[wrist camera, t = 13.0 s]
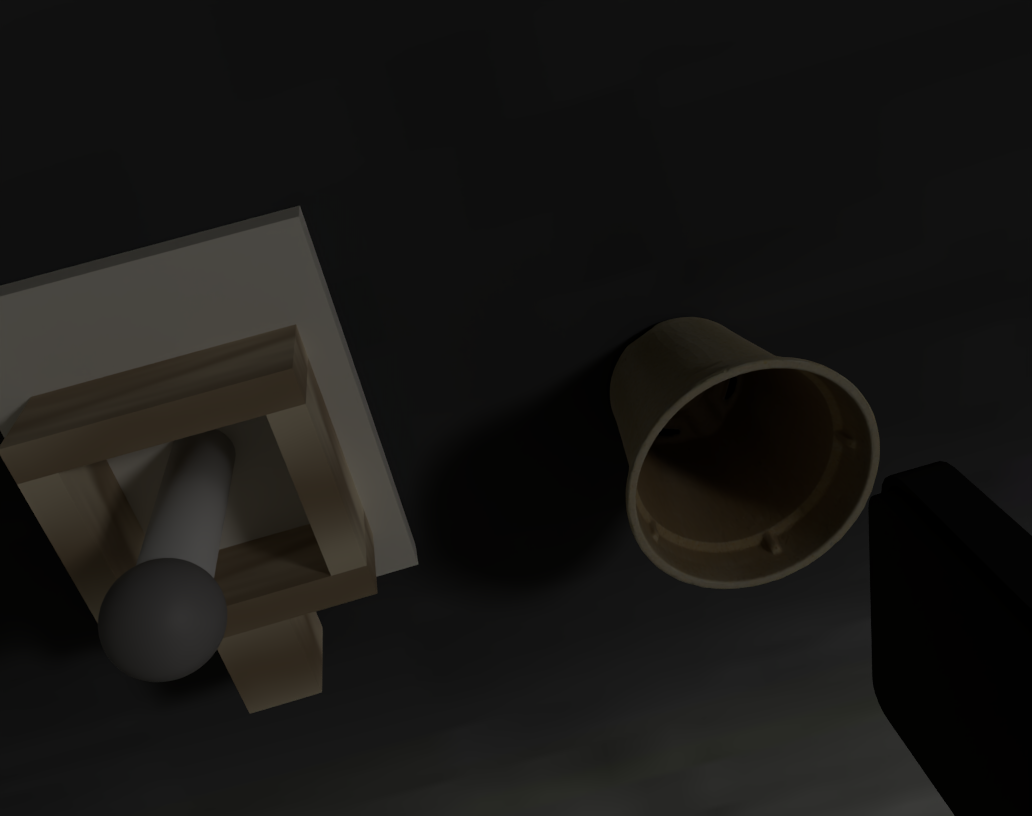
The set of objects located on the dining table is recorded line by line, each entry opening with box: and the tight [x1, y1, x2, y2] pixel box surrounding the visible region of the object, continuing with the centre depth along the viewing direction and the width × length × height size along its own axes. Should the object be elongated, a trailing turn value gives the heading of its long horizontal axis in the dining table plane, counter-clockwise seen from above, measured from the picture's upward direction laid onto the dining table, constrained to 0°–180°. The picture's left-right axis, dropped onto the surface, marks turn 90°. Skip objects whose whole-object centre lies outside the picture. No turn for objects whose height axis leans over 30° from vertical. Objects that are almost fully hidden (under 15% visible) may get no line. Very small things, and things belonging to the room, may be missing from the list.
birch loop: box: [0, 324, 377, 713], centre depth 36 cm, size 14×10×4 cm
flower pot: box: [610, 317, 880, 589], centre depth 37 cm, size 9×9×9 cm
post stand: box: [0, 206, 418, 682], centre depth 32 cm, size 16×13×13 cm
